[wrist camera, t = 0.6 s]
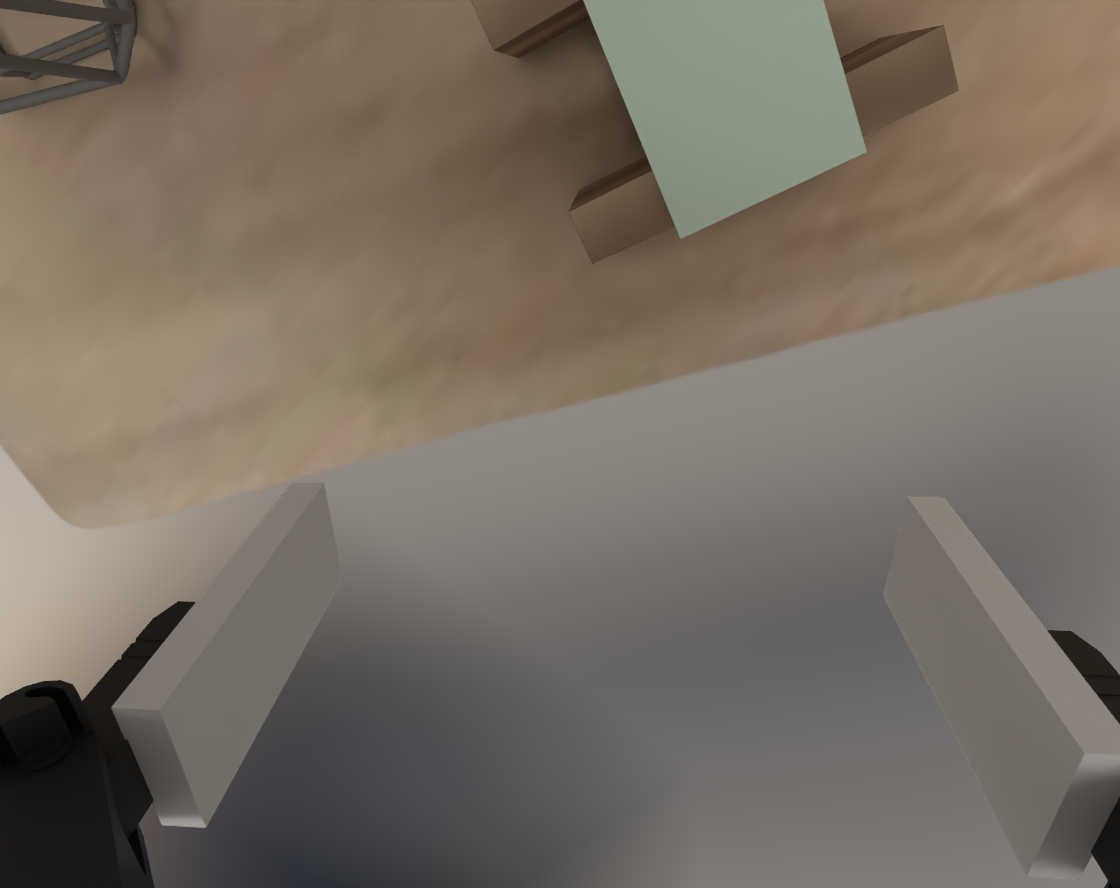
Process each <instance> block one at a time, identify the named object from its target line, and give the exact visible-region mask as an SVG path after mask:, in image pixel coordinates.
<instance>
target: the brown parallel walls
mask: <svg viewBox="0 0 1120 888" xmlns="http://www.w3.org/2000/svg"><path fill="white" fill-rule="evenodd" d="M470 1H471V3H472V5H473V7H474V9H475V11H476V13H477V16H478V18H479V20H480V22H481V24H482V26H483V29H484V31H485V33H486V35H487V37H488V39H489V42H490V44H491V46H492V48H493V50H494V51H498V52H501V53H504V54H507V55H511V56H514V57H517V58H519V57H521V56H522V55H524V54H526V53H528V52H529V51H531V50H533V49H535V48H536V47H538V46H540V45H542V44H543V43H545V42H547V41H548V40H550V39H552V38H554V37H555V36H557V35H559V34H561V33H562V32H564V31H566V30H568V29H569V28H571V27H573V26H575V25H576V24H578V23H580V22H581V21H583V20H585V19H587V18H588V17H590V16H589V13H588V11H587V8H586V6H585V3H584V1H583V0H470ZM840 60H841V63H842V67H843V70H844V74H845V77H846V81H847V84H848V88H849V91H850V95H851V98H852V102H853V105H854V109H855V112H856V116H857V119H858V122H859V126H860V129H861V133H862V136H864V135H866V134H868V133H870V132H872V131H875V130H877V129H879V128H881V127H883V126H885V125H887V124H889V123H891V122H894V121H896V120H898V119H900V118H902V117H904V116H906V115H908V114H910V113H913V112H915V111H917V110H919V109H921V108H923V107H925V106H927V105H929V104H932V103H934V102H936V101H938V100H940V99H942V98H944V97H946V96H949V95H951V94H953V93H955V92H957V91H959V89H958V85H957V80H956V76H955V72H954V67H953V63H952V59H951V54H950V50H949V46H948V41H947V37H946V33H945V28H944V25H942V26H937V27H932V28H927V29H922V30H917V31H912V32H908V33H903V34H898V35H893V36H888V37H883V38H880V39H878V40H876V41H874V42H872V43H870V44H868V45H866V46H864V47H862V48H860V49H858V50H856V51H854V52H852V53H850V54H848V55H846V56H844V57H842V58H840ZM569 214H570V216H571V219H572V221H573V223H574V225H575V227H576V229H577V232H578V234H579V236H580V238H581V240H582V242H583V245H584V247H585V249H586V251H587V253H588V255H589V257H590V260H591V262H592V264H593V263H596V262H598V261H600V260H602V259H604V258H606V257H608V256H610V255H612V254H615V253H617V252H619V251H621V250H623V249H625V248H627V247H629V246H631V245H634V244H636V243H638V242H640V241H642V240H644V239H646V238H648V237H650V236H653V235H655V234H657V233H659V232H661V231H663V230H665V229H667V228H669V227H672V226H674V222H673V220H672V217H671V215H670V212H669V210H668V207H667V205H666V202H665V200H664V198H663V195H662V193H661V190H660V188H659V185H658V183H657V180H656V178H655V175H654V173H653V171H652V168H651V166H650V163H649V161H648V158H647V156H646V157H644V158H642V159H640V160H638V161H637V162H635V163H633V164H631V165H629V166H627V167H625V168H623V169H621V170H619V171H617V172H615V173H613V174H611V175H609V176H607V177H605V178H603V179H601V180H599V181H597V182H595V183H593V184H591V185H589V186H587V187H585V188H583V189H581V190H579V191H578V193H577V195H576V197H575V200H574V202H573V204H572V206H571V208H570V210H569Z"/></svg>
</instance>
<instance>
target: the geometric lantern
mask: <svg viewBox="0 0 1120 888" xmlns="http://www.w3.org/2000/svg"><path fill="white" fill-rule="evenodd" d="M103 2H104V4H105V6H106V8H100V7H93V6H86V5H79V4H73V3H67V2H61V1H54V0H0V8H2V9H10V10H17V11H24V12H32V13H39V14H46V15H54V16H61V17H68V18H76V19H83V20H91V21H100V22H102V23H100V24H97V25H95V26H92V27H90V28H88V29H85V30H83V31H81V32H78V33H76V34H73V35H71V36H69V37H66V38H64V39H62V40H59V41H57V42H54V43H52V44H50V45H47V46H45V47H43V48H40V49H38V50H35V51H33V52H31V53H28V54H26V55H24V56H21V57H20V56H14V55H7V54H3V53H2V51H1V49H0V76H1V77H25V78H28V79H31V80H34V79H35V78H36V77H38V76H41V75H43V74H46V75H54V76H61V77H69V78H76V79H82V80H78V81H75V82H71V83H67V84H63V85H59V86H55V87H51V88H48V89H44V90H40V91H36V92H32V93H28V94H25V95H21V96H17V97H13V98H9V99H5V100H1V101H0V114H4V113H8V112H12V111H16V110H20V109H24V108H28V107H31V106H35V105H39V104H43V103H47V102H51V101H55V100H59V99H63V98H66V97H70V96H74V95H78V94H82V93H86V92H90V91H94V90H98V89H101V88H105V87H109V86H113V85H117V84H121V83H122V82H124V81H125V79H126V77H127V74H128V70H129V66H130V60H131V54H132V48H133V42H134V36H135V29H136V18H135V5H134V3H133V2H132V0H103ZM114 31H117V32H121V33H119V34H117V35H114ZM103 32H106V37H107V39H105V40H103V41H100V42H98V43H95V44H93V45H91V46H88V47H86V48H83V49H81V50H79V51H76V52H74V53H71V54H69V55H67V56H64V57H62V58H59V59H57V60H55V61H52V62H51V61H45V60H39V59H41V58H43V57H45V56H48V55H50V54H53V53H55V52H57V51H60V50H62V49H65V48H67V47H69V46H72V45H74V44H77V43H79V42H81V41H84V40H86V39H89V38H91V37H93V36H96V35H98V34H100V33H103ZM118 43H119V47H117V44H118ZM106 48H109V49H110V53H111V57H112V61H113V65H114V71H111V70H104V69H97V68H90V67H83V66H76V65H70V63H72V62H75V61H77V60H79V59H82V58H84V57H87V56H89V55H92V54H94V53H96V52H99V51H101V50H104V49H106Z"/></svg>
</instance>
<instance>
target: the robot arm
mask: <svg viewBox="0 0 1120 888" xmlns="http://www.w3.org/2000/svg"><path fill="white" fill-rule="evenodd" d="M342 579H343V577H342V572H341V567H340V561H339V557H338V551H337V547H336V541H335V536H334V531H333V526H332V521H331V516H330V511H329V506H328V501H327V497H326V491H325V487H324V483H291V485H290V486H289V487H288V488H287V490H286V491H285V492H284V493H283V494H282V496H281V497H280V498H279V500H278V501H277V502H276V503H275V505H274V506H273V507H272V508H271V510H270V511H269V512H268V513H267V514H266V516H265V517H264V518H263V519H262V521H261V522H260V523H259V524H258V526H257V527H256V528H255V529H254V531H253V532H252V533H251V534H250V536H249V537H248V538H247V539H246V541H245V542H244V543H243V544H242V546H241V547H240V548H239V549H238V551H237V552H236V553H235V554H234V555H233V557H232V558H231V559H230V560H229V562H228V563H227V564H226V566H225V567H224V568H223V569H222V570H221V572H220V573H219V574H218V575H217V577H216V578H215V579H214V580H213V582H212V583H211V584H210V585H209V586H208V588H207V589H206V590H205V591H204V593H203V594H202V595H201V596H200V598H199V599H198V600H197V601H196V602H181V601H178V602H177V603H175V604H174V605H172V606H171V607H170V608H168V609H167V610H165V611H164V612H162V613H161V614H160V615H158V616H156V617H155V618H153V619H152V621H151V622H150V623H149V624H148V625H147V626H146V627H145V629H144V630H143V631H142V632H141V633H140V635H139V636H138V637H137V638H136V642H135V643H132V644H131V645H130V646H129V647H128V648H127V650H126V651H125V652H124V653H123V654H122V658H121V660H117V661H116V662H115V664H114V665H113V666H112V667H111V668H110V669H109V671H108V672H107V673H106V674H105V675H104V677H103V678H102V679H101V680H100V681H99V682H98V683H97V685H96V686H95V687H94V688H93V689H92V691H91V692H90V693H89V694H88V695H87V696H86V698H85V699H84V700H83V701H81V698H80V696H79V694H78V692H77V690H76V689H75V687H74V686H73V684H70V683H67V682H64V681H61V680H58V681H43V682H39V683H36V684H32V685H29V686H25V687H23V688H21V689H19V690H17V691H15V692H13V693H11V694H9V695H6V696H5V697H3V698H2V699H1V700H0V888H154V883H153V879H152V874H151V869H150V865H149V860H148V855H147V850H146V846H145V841H144V836H143V834H142V832H141V829H140V827H139V825H138V824H139V822H140V820H141V819H142V818H143V816H144V815H145V813H146V811H147V810H148V808H149V807H150V805H151V803H153V805H154V808H155V809H156V812H157V814H158V817H159V819H160V821H161V824H162V825H169V826H185V827H202V828H206V827H207V824H208V823H209V821H210V819H211V817H212V816H213V814H214V812H215V810H216V808H217V807H218V805H219V803H220V801H221V799H222V797H223V795H224V794H225V792H226V790H227V788H228V786H229V785H230V783H231V781H232V779H233V777H234V776H235V774H236V772H237V770H238V768H239V766H240V765H241V763H242V761H243V759H244V757H245V756H246V754H247V752H248V750H249V748H250V746H251V745H252V743H253V741H254V739H255V737H256V736H257V734H258V732H259V730H260V728H261V726H262V724H263V723H264V721H265V719H266V717H267V715H268V713H269V712H270V710H271V708H272V706H273V705H274V703H275V701H276V699H277V697H278V695H279V694H280V692H281V690H282V688H283V686H284V685H285V683H286V681H287V679H288V677H289V675H290V674H291V672H292V670H293V668H294V666H295V664H296V663H297V661H298V659H299V657H300V655H301V654H302V652H303V650H304V648H305V646H306V645H307V643H308V641H309V639H310V637H311V635H312V634H313V632H314V630H315V628H316V626H317V624H318V622H319V621H320V619H321V617H322V615H323V613H324V612H325V610H326V608H327V606H328V604H329V603H330V601H331V599H332V597H333V595H334V593H335V592H336V590H337V588H338V586H339V584H340V583H341V581H342ZM883 596H884V598H885V600H886V602H887V604H888V606H889V608H890V610H891V612H892V614H893V616H894V618H895V620H896V622H897V624H898V626H899V628H900V630H901V632H902V634H903V635H904V638H905V640H906V641H907V643H908V645H909V647H910V649H911V651H912V653H913V655H914V657H915V659H916V661H917V663H918V665H919V667H920V669H921V671H922V673H923V675H924V677H925V678H926V681H927V683H928V684H929V687H930V688H931V690H932V692H933V694H934V696H935V698H936V700H937V702H938V704H939V706H940V708H941V710H942V712H943V714H944V716H945V718H946V720H947V722H948V724H949V726H950V728H951V730H952V732H953V733H954V735H955V737H956V739H957V741H958V743H959V745H960V747H961V749H962V751H963V753H964V755H965V757H966V759H967V761H968V763H969V765H970V767H971V769H972V771H973V773H974V775H975V777H976V778H977V780H978V782H979V784H980V786H981V788H982V790H983V792H984V794H985V796H986V798H987V800H988V802H989V804H990V806H991V808H992V810H993V812H994V814H995V816H996V818H997V820H998V822H999V824H1000V825H1001V827H1002V829H1003V831H1004V833H1005V835H1006V837H1007V839H1008V841H1009V843H1010V845H1011V847H1012V849H1013V851H1014V853H1015V855H1016V857H1017V859H1018V861H1019V863H1020V865H1021V867H1022V869H1023V870H1024V873H1025V874H1026V876H1027V877H1041V878H1058V879H1076V880H1079V879H1080V877H1081V875H1082V873H1083V871H1084V869H1085V867H1086V866H1087V864H1088V862H1089V860H1090V858H1091V856H1092V855H1093V856H1094V858H1095V860H1096V861H1097V863H1098V864H1099V866H1100V868H1101V869H1102V871H1103V873H1104V874H1105V876H1106V878H1107V879H1108V882H1107V884H1106V886H1105V887H1104V888H1120V675H1119V674H1118V672H1117V671H1116V670H1115V669H1114V668H1113V666H1112V665H1111V664H1110V663H1109V662H1108V661H1107V660H1106V658H1105V657H1104V656H1103V655H1102V653H1101V652H1099V651H1098V650H1097V649H1095V648H1094V647H1093V646H1091V645H1090V644H1088V643H1087V642H1086V641H1084V640H1083V639H1081V638H1080V637H1079V636H1077V635H1076V634H1074V633H1073V632H1071V631H1054V630H1046V629H1045V627H1044V626H1043V625H1042V624H1041V622H1040V621H1039V620H1038V618H1037V617H1036V616H1035V615H1034V613H1033V612H1032V611H1031V609H1030V608H1029V607H1028V605H1027V604H1026V603H1025V601H1024V600H1023V599H1022V598H1021V596H1020V595H1019V594H1018V592H1017V591H1016V590H1015V589H1014V588H1013V586H1012V585H1011V583H1010V582H1009V581H1008V580H1007V578H1006V577H1005V576H1004V574H1003V573H1002V572H1001V570H1000V569H999V568H998V567H997V566H996V564H995V563H994V562H993V560H992V559H991V558H990V556H989V555H988V554H987V553H986V551H985V550H984V549H983V547H982V546H981V545H980V543H979V542H978V541H977V540H976V538H975V537H974V536H973V534H972V533H971V532H970V530H969V529H968V528H967V527H966V525H965V524H964V523H963V521H962V520H961V519H960V518H959V516H958V515H957V514H956V512H955V511H954V510H953V509H952V507H951V506H950V505H949V503H948V502H947V501H946V499H945V498H944V497H916V496H915V497H914V496H907V500H906V504H905V508H904V512H903V517H902V520H901V524H900V529H899V533H898V537H897V541H896V545H895V549H894V553H893V557H892V562H891V566H890V570H889V574H888V578H887V583H886V586H885V590H884V594H883Z"/></svg>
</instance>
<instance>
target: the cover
mask: <svg viewBox="0 0 1120 888" xmlns="http://www.w3.org/2000/svg"><path fill="white" fill-rule="evenodd" d="M583 1H584V3H585V6H586V8H587V11H588V13H589V16H590V18H591V21H592V23H593V26H594V28H595V30H596V33H597V35H598V38H599V40H600V43H601V45H602V48H603V50H604V53H605V55H606V57H607V60H608V62H609V65H610V67H611V70H612V72H613V75H614V77H615V80H616V82H617V85H618V87H619V89H620V92H621V94H622V97H623V99H624V102H625V104H626V107H627V109H628V112H629V114H630V116H631V119H632V121H633V124H634V126H635V129H636V131H637V134H638V136H639V139H640V141H641V143H642V146H643V148H644V151H645V153H646V156H647V158H648V161H649V163H650V166H651V168H652V171H653V173H654V175H655V178H656V180H657V183H658V185H659V188H660V190H661V193H662V195H663V198H664V200H665V202H666V205H667V207H668V210H669V212H670V215H671V217H672V220H673V222H674V225H675V227H676V229H677V232H678V234H679V237H680V239H682V238H684V237H686V236H688V235H690V234H692V233H695V232H697V231H699V230H701V229H703V228H705V227H707V226H710V225H712V224H714V223H716V222H718V221H720V220H722V219H725V218H727V217H729V216H731V215H733V214H735V213H737V212H740V211H742V210H744V209H746V208H748V207H750V206H752V205H755V204H757V203H759V202H761V201H763V200H765V199H768V198H770V197H772V196H774V195H776V194H778V193H780V192H783V191H785V190H787V189H789V188H791V187H793V186H795V185H798V184H800V183H802V182H804V181H806V180H808V179H810V178H813V177H815V176H817V175H819V174H821V173H823V172H825V171H828V170H830V169H832V168H834V167H836V166H838V165H840V164H843V163H845V162H847V161H849V160H851V159H853V158H855V157H858V156H860V155H862V154H864V153H866V152H867V150H866V147H865V143H864V140H863V136H862V133H861V129H860V126H859V122H858V119H857V116H856V112H855V109H854V105H853V102H852V98H851V95H850V91H849V88H848V84H847V81H846V77H845V74H844V70H843V67H842V63H841V60H840V56H839V53H838V49H837V46H836V42H835V39H834V35H833V32H832V28H831V25H830V22H829V18H828V15H827V11H826V8H825V4H824V1H823V0H583Z"/></svg>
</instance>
